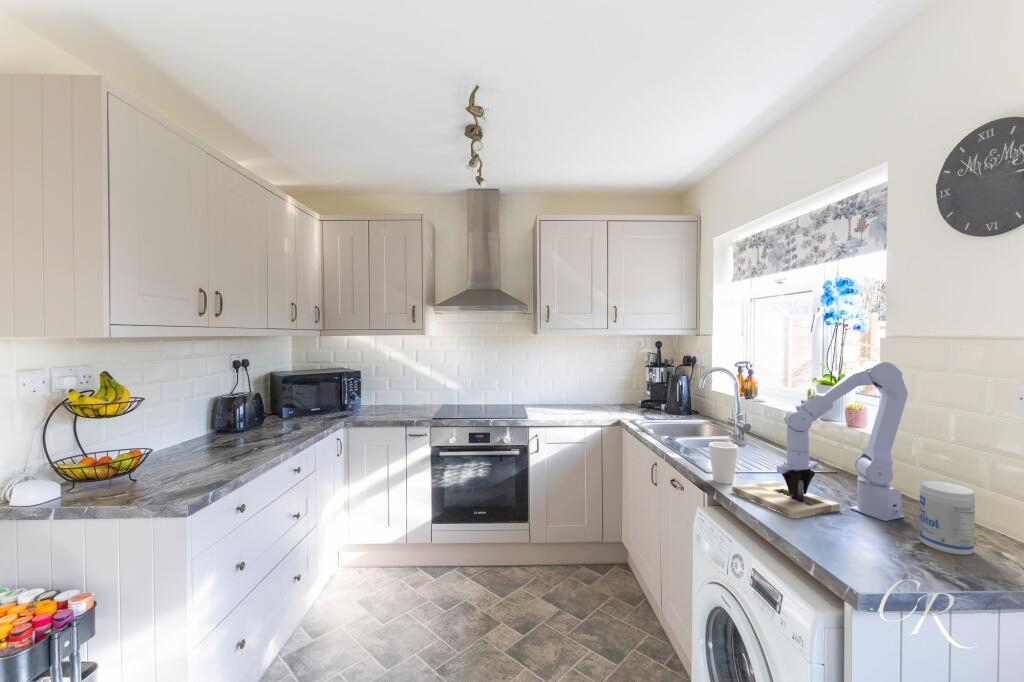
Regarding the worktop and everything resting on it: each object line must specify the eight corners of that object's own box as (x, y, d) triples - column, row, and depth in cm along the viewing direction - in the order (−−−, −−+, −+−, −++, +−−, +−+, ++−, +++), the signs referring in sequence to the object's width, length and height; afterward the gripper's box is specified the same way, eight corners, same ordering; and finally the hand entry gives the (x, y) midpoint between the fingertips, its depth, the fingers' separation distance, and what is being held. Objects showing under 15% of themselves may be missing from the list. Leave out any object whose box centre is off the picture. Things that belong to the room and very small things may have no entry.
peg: (811, 504, 133) (811, 480, 132) (799, 507, 131) (799, 482, 131) (795, 499, 137) (795, 475, 137) (783, 501, 135) (783, 477, 135)
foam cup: (735, 487, 149) (735, 449, 148) (706, 482, 154) (706, 445, 154) (740, 480, 156) (740, 444, 156) (712, 475, 162) (712, 440, 162)
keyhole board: (839, 510, 128) (839, 503, 128) (793, 518, 123) (793, 511, 123) (773, 486, 149) (773, 480, 149) (732, 492, 144) (732, 486, 144)
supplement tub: (908, 538, 110) (908, 480, 110) (942, 536, 111) (942, 479, 111) (950, 557, 101) (950, 494, 101) (986, 555, 102) (986, 492, 102)
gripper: (802, 444, 140) (802, 487, 140) (768, 448, 135) (768, 492, 135) (824, 450, 133) (824, 494, 133) (788, 454, 129) (788, 500, 129)
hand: (797, 493), depth 134 cm, fingers closed on peg, 3 cm apart
